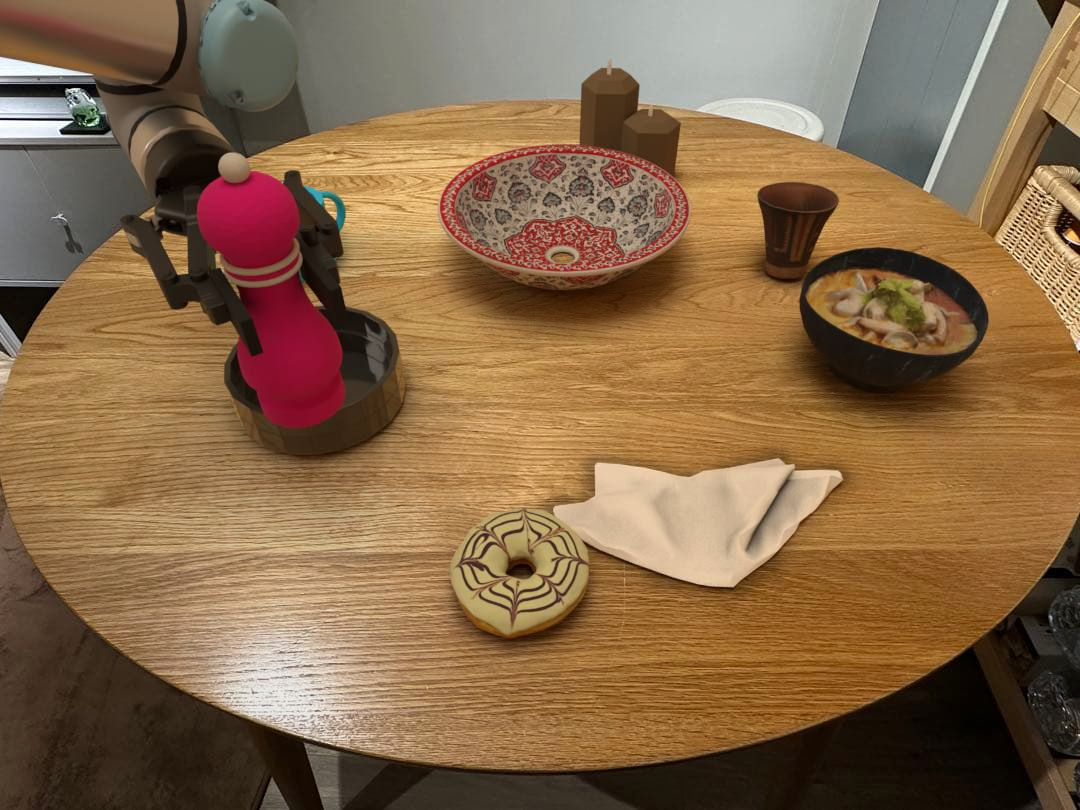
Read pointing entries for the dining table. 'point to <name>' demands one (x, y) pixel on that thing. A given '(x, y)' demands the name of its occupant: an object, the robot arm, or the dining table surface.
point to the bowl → (890, 317)
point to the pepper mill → (272, 294)
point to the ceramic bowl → (564, 214)
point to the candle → (626, 120)
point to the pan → (368, 391)
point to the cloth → (698, 516)
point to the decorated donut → (508, 599)
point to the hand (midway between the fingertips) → (296, 321)
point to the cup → (793, 224)
